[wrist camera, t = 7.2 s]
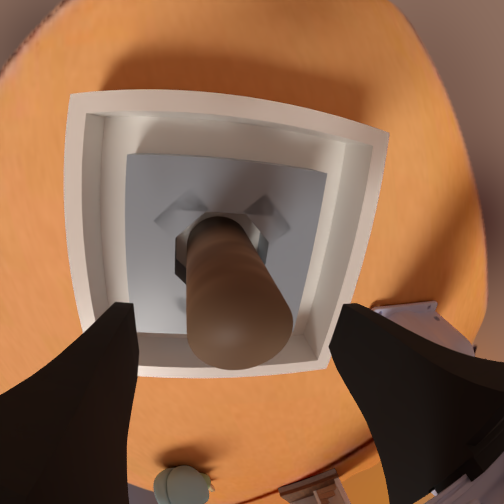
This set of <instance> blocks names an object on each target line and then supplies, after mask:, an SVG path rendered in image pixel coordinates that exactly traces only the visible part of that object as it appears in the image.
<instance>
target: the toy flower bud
mask: <svg viewBox="0 0 504 504" xmlns="http://www.w3.org/2000/svg"><path fill="white" fill-rule="evenodd" d="M208 489H209V490H210V491H211V492H213V491H215V488H214V486H213V485H212V484H211V480H210V477H209V476H208V475H207V474H204V473H199V472H198V471H197V470H195V469H194V468H192V467H190V466H186V465H183V466H178V467H176V468H167V469H165V470H163V471H162V472H160V473H159V474H158V475H157V476H156V478H155V480H154V494H155V497H156V500H157V502H158V504H204V503H206V502H207V501H208V499H209V490H208Z"/></svg>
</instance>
